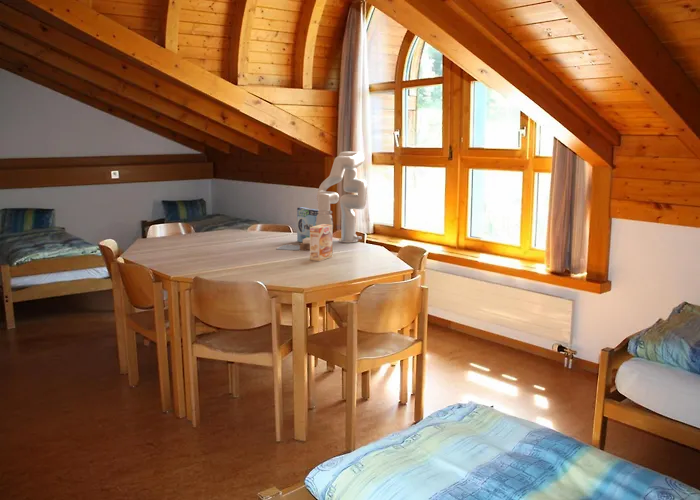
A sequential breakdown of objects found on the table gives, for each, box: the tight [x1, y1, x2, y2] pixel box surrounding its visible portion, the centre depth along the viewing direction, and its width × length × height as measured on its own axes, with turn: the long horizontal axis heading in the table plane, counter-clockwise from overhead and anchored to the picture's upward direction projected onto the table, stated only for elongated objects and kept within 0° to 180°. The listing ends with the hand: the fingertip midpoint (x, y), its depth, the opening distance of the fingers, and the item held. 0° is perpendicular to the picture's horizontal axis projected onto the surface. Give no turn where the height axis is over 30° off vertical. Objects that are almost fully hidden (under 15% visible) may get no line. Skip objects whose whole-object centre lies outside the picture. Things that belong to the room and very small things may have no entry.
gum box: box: [296, 206, 318, 243], centre depth 449 cm, size 20×5×23 cm, turn 39°
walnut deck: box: [299, 242, 310, 252], centre depth 430 cm, size 9×14×4 cm, turn 165°
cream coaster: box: [302, 238, 310, 244], centre depth 429 cm, size 8×8×2 cm
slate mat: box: [276, 244, 301, 251], centre depth 433 cm, size 15×16×1 cm
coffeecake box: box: [309, 224, 333, 262], centre depth 397 cm, size 15×7×20 cm, turn 151°
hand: (324, 241), depth 427 cm, fingers closed
